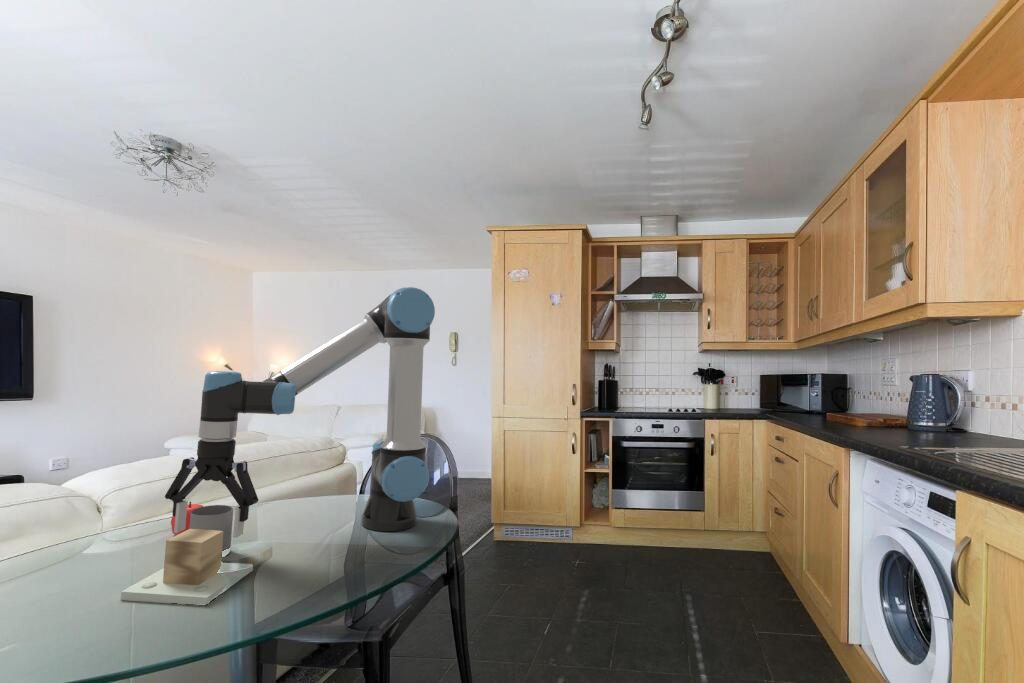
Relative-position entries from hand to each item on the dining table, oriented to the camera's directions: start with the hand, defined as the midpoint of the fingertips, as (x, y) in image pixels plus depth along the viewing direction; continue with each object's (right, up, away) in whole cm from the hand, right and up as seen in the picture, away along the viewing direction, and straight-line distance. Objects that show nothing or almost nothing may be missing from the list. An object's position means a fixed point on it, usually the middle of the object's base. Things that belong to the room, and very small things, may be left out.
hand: (208, 533), depth 118 cm
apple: (-12, -5, +12) cm, 18 cm away
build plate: (+6, -4, -15) cm, 17 cm away
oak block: (+6, -3, -15) cm, 16 cm away
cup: (0, -5, 0) cm, 5 cm away
